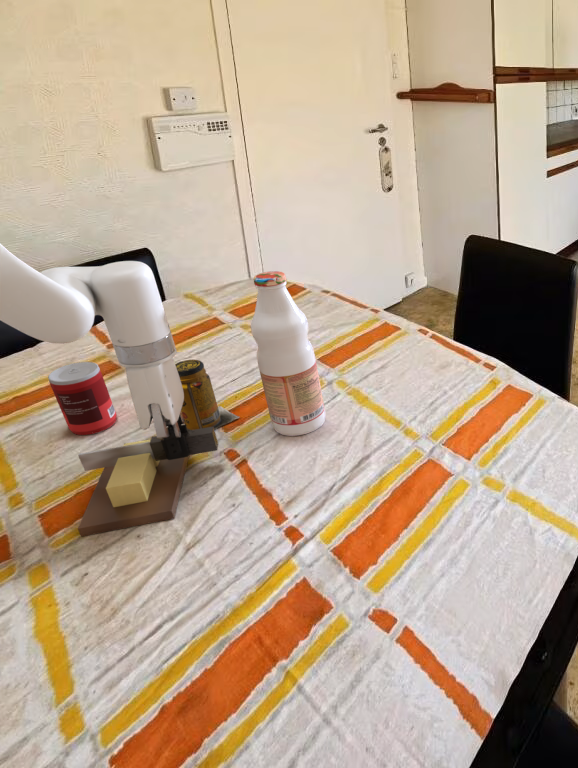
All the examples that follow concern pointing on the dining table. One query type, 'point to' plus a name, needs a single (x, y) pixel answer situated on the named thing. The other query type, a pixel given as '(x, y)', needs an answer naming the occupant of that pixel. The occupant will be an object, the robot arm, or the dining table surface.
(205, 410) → the condiment
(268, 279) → the fruit juice
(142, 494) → the butter stick
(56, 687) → the dining table surface
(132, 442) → the butter slice
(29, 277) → the robot arm
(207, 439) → the knife
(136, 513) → the board
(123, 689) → the dining table surface
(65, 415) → the canned food
